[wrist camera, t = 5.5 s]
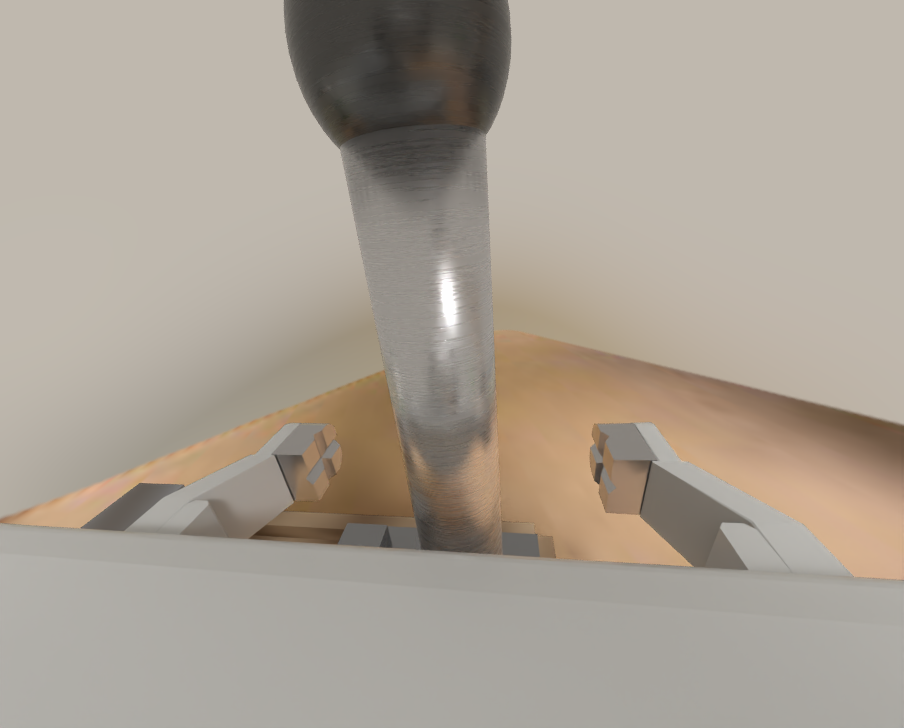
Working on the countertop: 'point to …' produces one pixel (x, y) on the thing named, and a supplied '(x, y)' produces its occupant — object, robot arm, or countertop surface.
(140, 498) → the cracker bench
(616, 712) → the robot arm
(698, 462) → the countertop surface
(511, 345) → the countertop surface
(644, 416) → the countertop surface
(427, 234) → the ball-top joystick lever
